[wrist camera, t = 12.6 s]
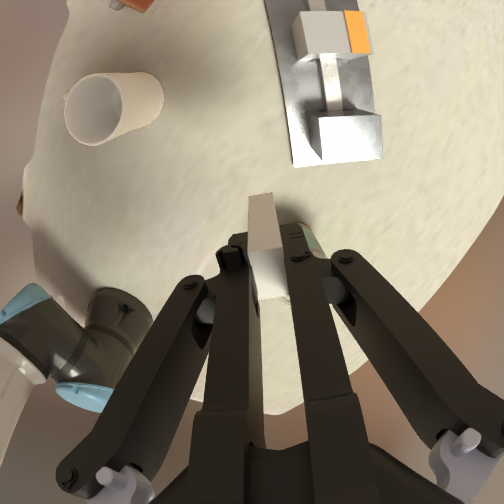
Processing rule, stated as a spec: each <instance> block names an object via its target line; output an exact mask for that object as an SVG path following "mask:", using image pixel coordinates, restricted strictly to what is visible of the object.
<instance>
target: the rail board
mask: <svg viewBox="0 0 504 504" xmlns="http://www.w3.org/2000/svg"><path fill="white" fill-rule="evenodd" d="M265 3H266V8H267V12H268V17H269V22H270V26H271V31H272V36H273V41H274V46H275V51H276V56H277V62H278V67H279V73H280V78H281V84H282V90H283V96H284V102H285V108H286V115H287V121H288V128H289V135H290V142H291V149H292V157H293V165H294V167H300V166H309V165H318V164H328V163H339V162H351V161H364V160H377V159H383V148H382V124H381V115H378V114H375V112H374V101H373V91H372V82H371V74H370V67H369V60H368V55H367V56H362V57H358V58H354V59H340V58H323V59H311V60H310V61H298V59H297V54H296V49H295V44H294V39H293V34H292V29H291V26H292V24H293V23H294V21H295V19H296V17H297V15H298V14H299V12H300V11H344V10H346V11H359V8H358V4H357V0H265Z"/></svg>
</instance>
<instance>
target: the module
mask: <svg viewBox="0 0 504 504" xmlns="http://www.w3.org/2000/svg"><path fill="white" fill-rule="evenodd" d="M291 29H292V34H293V39H294V44H295V49H296V54H297V59H298V61H310V60H311V59H323V58H340V59H354V58H358V57H362V56H367V55H371V54H373V48H372V42H371V37H370V31H369V26H368V22H367V17H366V13H363V12H362V11H346V10H344V11H300V12H299V14H298V15H297V17H296V19H295V21H294V23H293V24H292V26H291Z"/></svg>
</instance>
